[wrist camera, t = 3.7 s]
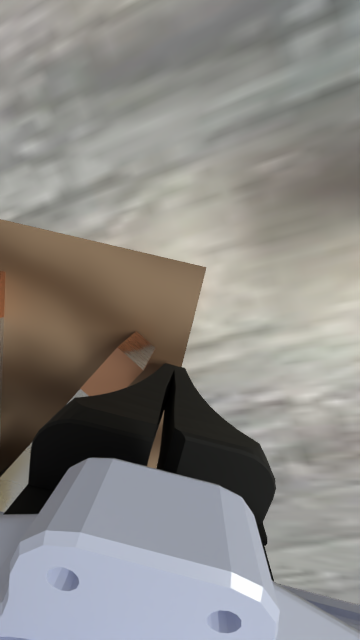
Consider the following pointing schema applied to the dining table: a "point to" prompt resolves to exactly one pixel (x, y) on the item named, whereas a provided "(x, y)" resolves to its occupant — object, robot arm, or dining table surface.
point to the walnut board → (81, 321)
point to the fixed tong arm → (1, 329)
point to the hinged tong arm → (106, 379)
